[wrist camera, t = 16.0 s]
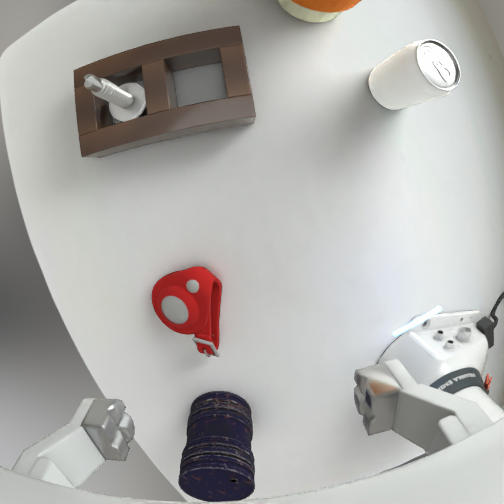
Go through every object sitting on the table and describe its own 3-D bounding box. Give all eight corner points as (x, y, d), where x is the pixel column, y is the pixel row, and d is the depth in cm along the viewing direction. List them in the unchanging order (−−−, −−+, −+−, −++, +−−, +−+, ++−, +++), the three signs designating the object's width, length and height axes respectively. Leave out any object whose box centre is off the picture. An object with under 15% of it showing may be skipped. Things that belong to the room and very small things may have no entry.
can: (385, 56, 32) (432, 25, 20) (418, 92, 33) (472, 74, 22) (357, 83, 33) (401, 54, 22) (392, 120, 34) (445, 107, 23)
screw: (136, 130, 34) (108, 111, 33) (159, 98, 33) (130, 80, 32) (88, 115, 21) (54, 92, 20) (121, 67, 20) (85, 46, 20)
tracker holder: (136, 309, 39) (169, 256, 34) (154, 295, 43) (187, 245, 38) (206, 371, 38) (251, 327, 34) (219, 352, 42) (262, 309, 38)
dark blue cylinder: (218, 439, 47) (214, 508, 32) (177, 407, 45) (161, 480, 30) (264, 415, 45) (271, 489, 31) (224, 380, 43) (219, 458, 29)
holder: (91, 79, 32) (73, 70, 27) (239, 41, 31) (239, 25, 27) (99, 157, 35) (81, 157, 30) (254, 123, 34) (255, 116, 30)
